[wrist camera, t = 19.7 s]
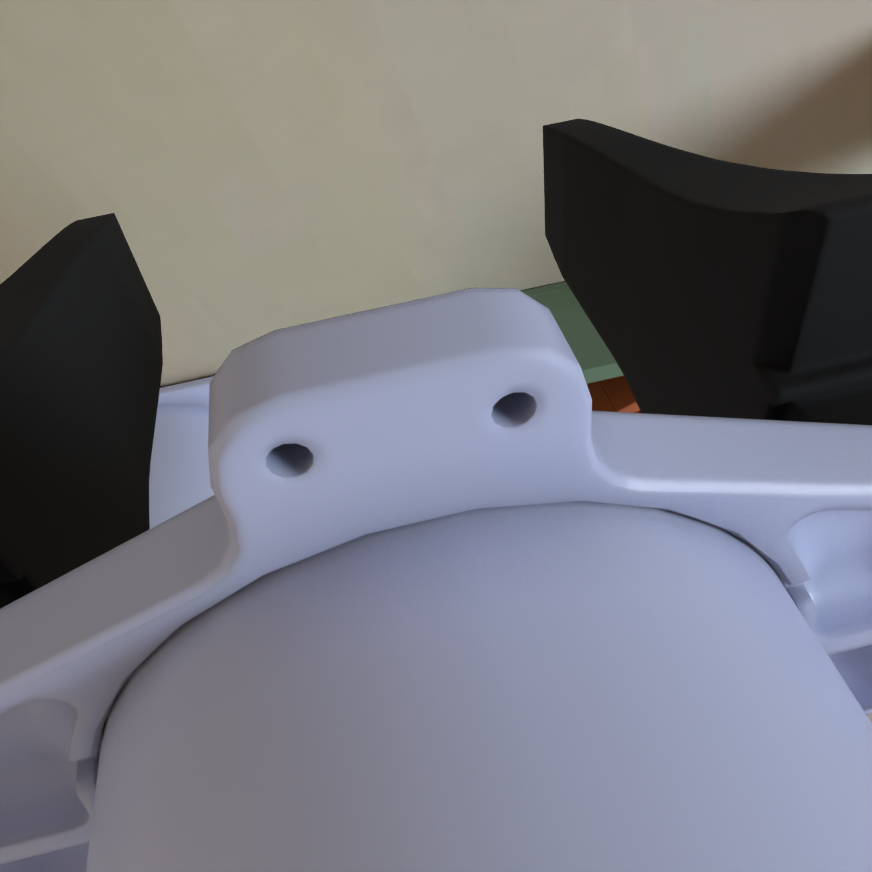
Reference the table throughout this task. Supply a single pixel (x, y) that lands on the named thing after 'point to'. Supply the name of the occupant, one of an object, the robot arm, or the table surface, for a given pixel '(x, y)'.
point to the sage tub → (577, 331)
